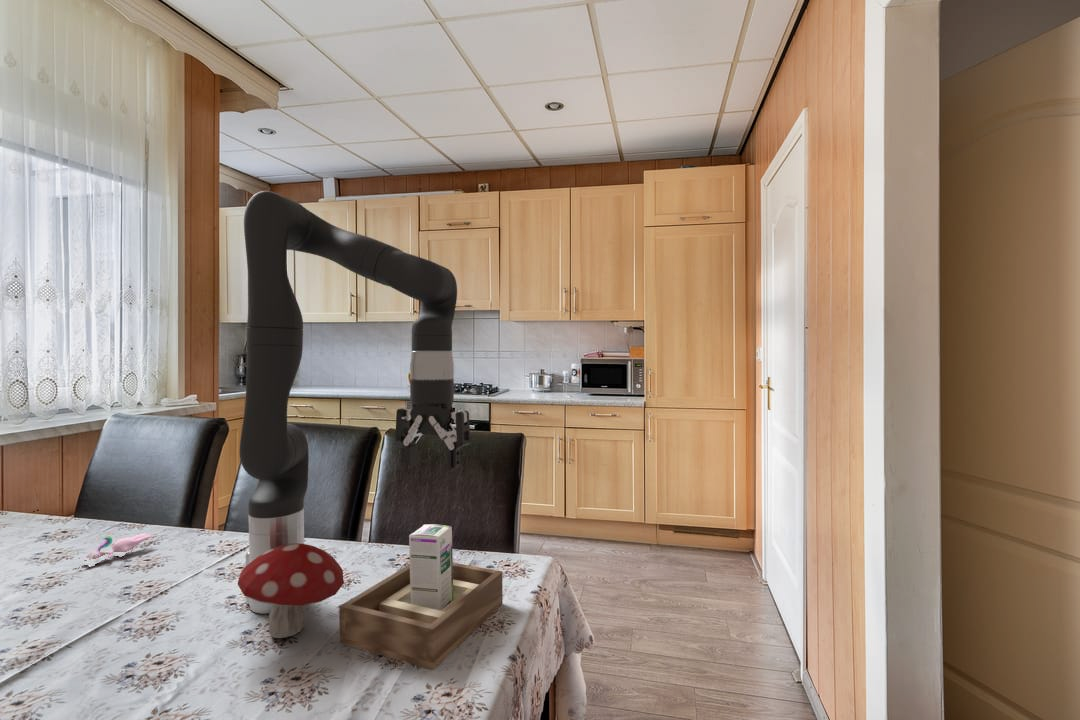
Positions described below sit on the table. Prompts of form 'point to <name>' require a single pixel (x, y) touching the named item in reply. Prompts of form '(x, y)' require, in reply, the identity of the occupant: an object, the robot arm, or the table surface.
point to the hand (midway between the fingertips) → (432, 468)
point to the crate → (419, 616)
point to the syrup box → (431, 566)
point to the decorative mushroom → (290, 583)
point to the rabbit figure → (118, 545)
